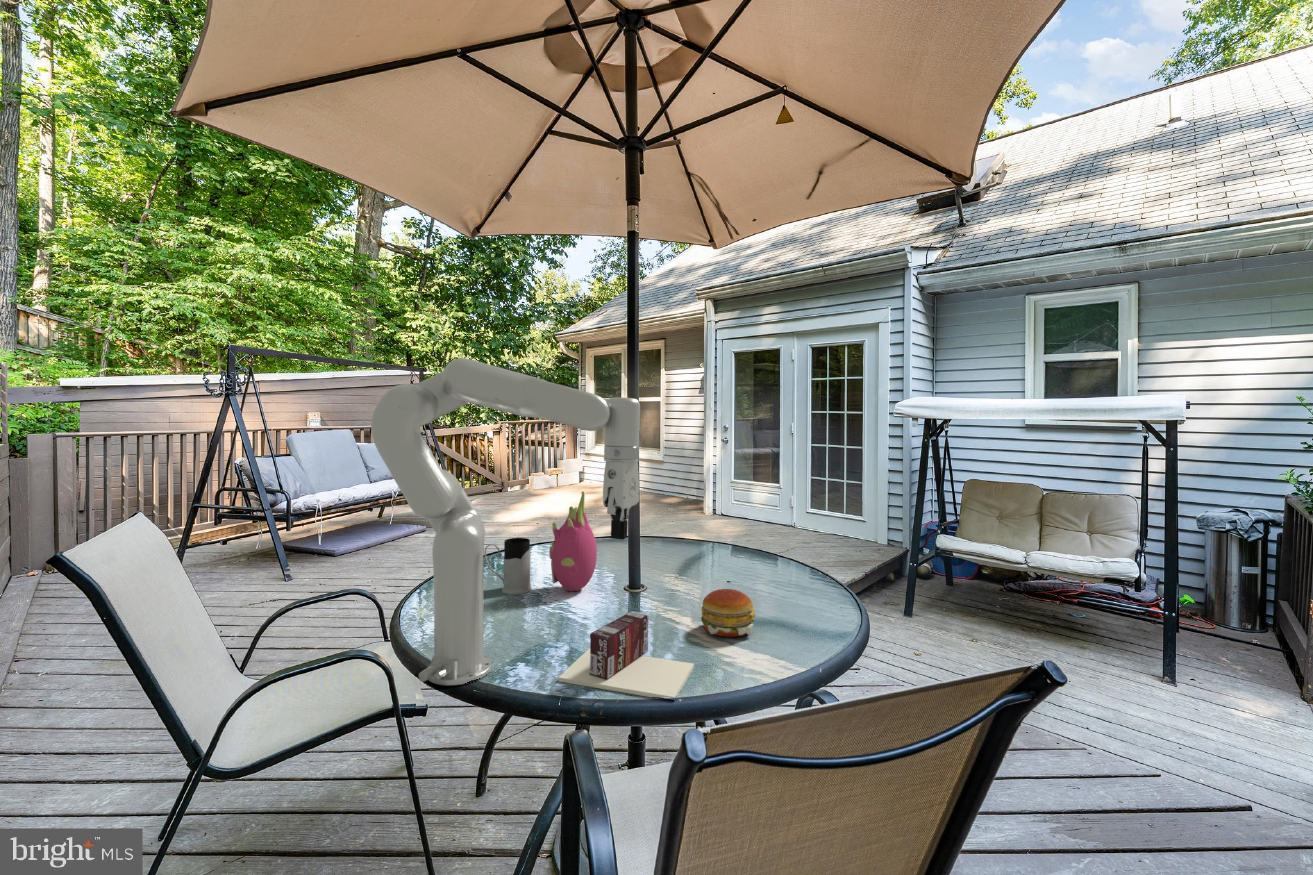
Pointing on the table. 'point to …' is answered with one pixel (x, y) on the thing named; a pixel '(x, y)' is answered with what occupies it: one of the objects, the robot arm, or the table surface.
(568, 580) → the pink dragon fruit
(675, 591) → the table surface
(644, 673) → the placemat
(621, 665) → the supplement box
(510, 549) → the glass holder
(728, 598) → the burger
